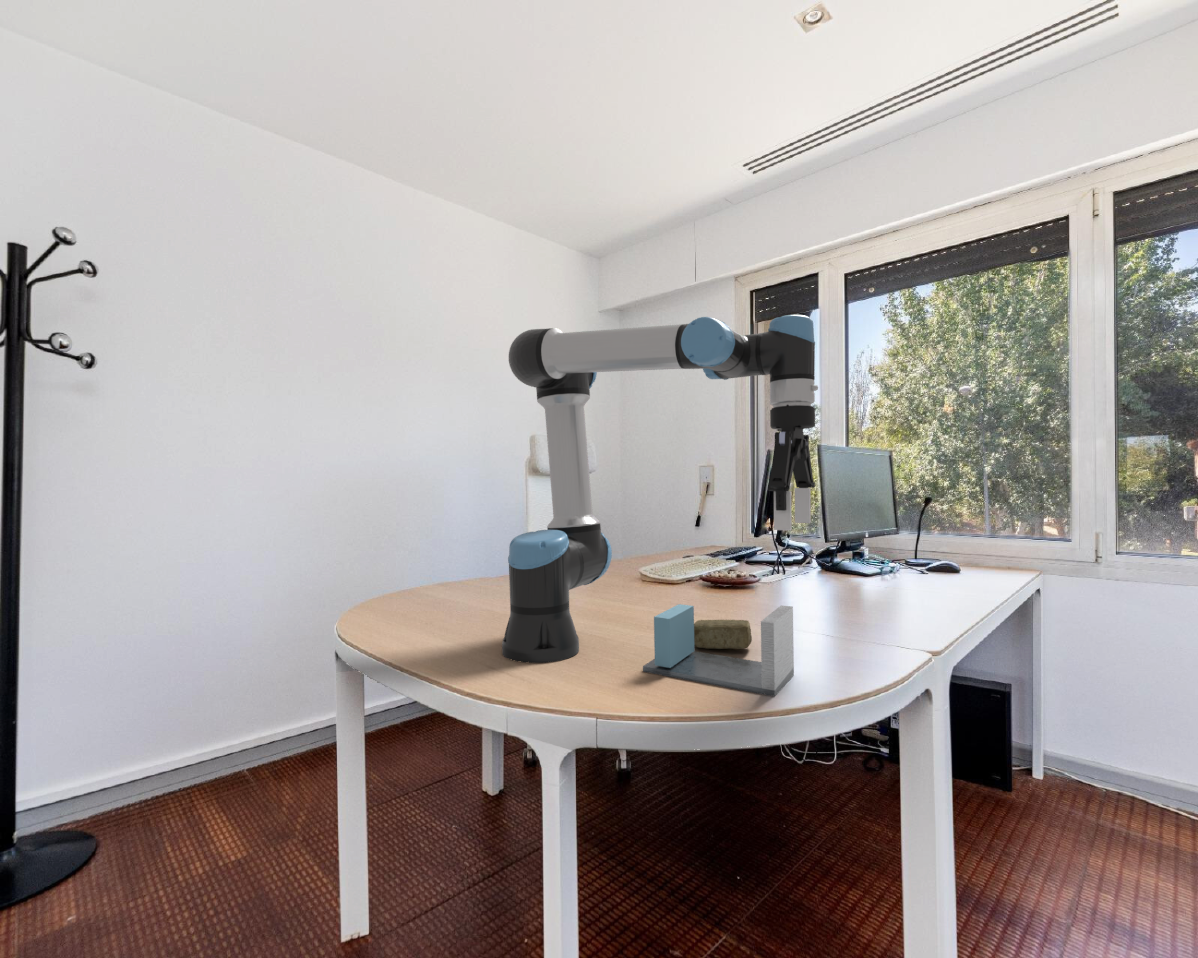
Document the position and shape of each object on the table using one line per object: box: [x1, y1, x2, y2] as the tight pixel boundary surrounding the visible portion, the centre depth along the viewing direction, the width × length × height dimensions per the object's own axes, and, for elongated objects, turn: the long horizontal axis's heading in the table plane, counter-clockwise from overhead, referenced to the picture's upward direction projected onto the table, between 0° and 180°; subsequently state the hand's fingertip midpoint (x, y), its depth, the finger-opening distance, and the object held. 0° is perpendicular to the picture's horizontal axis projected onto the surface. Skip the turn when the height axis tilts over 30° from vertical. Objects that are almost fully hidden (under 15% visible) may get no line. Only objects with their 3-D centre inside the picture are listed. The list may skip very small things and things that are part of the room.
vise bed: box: [642, 605, 795, 697], centre depth 101 cm, size 23×12×12 cm, turn 58°
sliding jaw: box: [653, 603, 695, 668], centre depth 105 cm, size 3×11×8 cm, turn 148°
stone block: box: [694, 619, 753, 650], centre depth 115 cm, size 6×12×5 cm, turn 71°
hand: (793, 526), depth 102 cm, fingers open, 13 cm apart
